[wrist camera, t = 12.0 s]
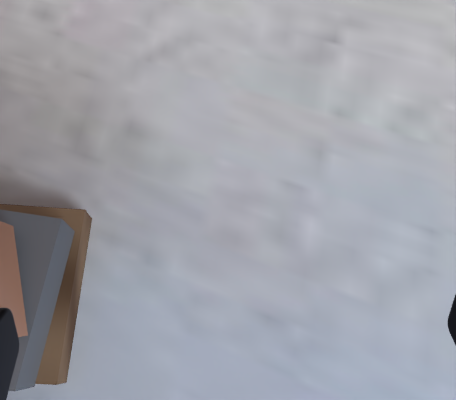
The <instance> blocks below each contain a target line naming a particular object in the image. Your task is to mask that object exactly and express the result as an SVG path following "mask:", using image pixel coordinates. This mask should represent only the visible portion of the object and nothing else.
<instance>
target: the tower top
mask: <svg viewBox="0 0 456 400" xmlns="http://www.w3.org/2000/svg"><path fill="white" fill-rule="evenodd" d="M0 221H2V222H4V223H7V224H9V225H12V226H13V227H14V235H15V242H16V249H17V257H18V264H19V272H20V279H21V287H22V294H23V302H24V309H25V317H26V324H27V332H28V335H27V336H23V337H19V353H18V357H17V361H16V364H15V368H14V372H13V376H12V379H11V383H10V387H9V391H18V390H22V389H26V388H30V387H34V386H35V382H36V378H37V374H38V371H39V367H40V363H41V359H42V355H43V352H44V348H45V344H46V340H47V336H48V333H49V329H50V325H51V321H52V317H53V313H54V310H55V306H56V302H57V298H58V294H59V290H60V286H61V283H62V279H63V275H64V271H65V267H66V263H67V260H68V256H69V252H70V248H71V244H72V240H73V237H74V233H75V231H74V230H73V229H72V228H71V227H70V226H69V225H68V224H67V223H66V222H65V221H64V220H63V219H60V218H53V217H47V216H40V215H33V214H27V213H20V212H13V211H7V210H0Z"/></svg>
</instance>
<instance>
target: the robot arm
mask: <svg viewBox="0 0 456 400" xmlns="http://www.w3.org/2000/svg"><path fill="white" fill-rule="evenodd" d="M448 328H449V332H450V334H451V336H452V338H453V340H454V343H455V345H456V295H455V298H454V301H453V304H452V308H451V311H450V314H449V317H448ZM18 353H19V338H18V333H17V329H16V325H15V321H14V317H13V314H12V311H11V310H10V309H9V308H0V400H6V398H7V394H8V391H9V387H10V383H11V379H12V376H13V372H14V368H15V364H16V361H17V357H18Z"/></svg>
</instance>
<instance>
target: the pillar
mask: <svg viewBox="0 0 456 400" xmlns="http://www.w3.org/2000/svg"><path fill="white" fill-rule="evenodd" d="M0 308H9V309H10V310H11V311H12V314H13V317H14V321H15V325H16V329H17V333H18V338H19V337H23V336H27V335H28V332H27V324H26V317H25V309H24V302H23V294H22V287H21V279H20V272H19V264H18V257H17V249H16V242H15V235H14V227H13V226H12V225H9V224H7V223H4V222H2V221H0Z"/></svg>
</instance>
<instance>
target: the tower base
mask: <svg viewBox="0 0 456 400" xmlns="http://www.w3.org/2000/svg"><path fill="white" fill-rule="evenodd" d="M0 210H7V211H13V212H20V213H27V214H33V215H40V216H47V217H53V218H60V219H63V220H64V221H65V222H66V223H67V224H68V225H69V226H70V227H71V228H72V229H73V230H74V231H75V233H74V237H73V240H72V244H71V248H70V252H69V256H68V260H67V263H66V267H65V271H64V275H63V279H62V283H61V286H60V290H59V294H58V298H57V302H56V306H55V310H54V313H53V317H52V321H51V325H50V329H49V333H48V336H47V340H46V344H45V348H44V352H43V355H42V359H41V363H40V367H39V371H38V374H37V378H36V382H35V384H53V385H57V384H61V383H65V382H67V375H68V369H69V363H70V356H71V350H72V343H73V337H74V330H75V324H76V318H77V311H78V305H79V298H80V292H81V286H82V279H83V273H84V266H85V260H86V253H87V247H88V241H89V234H90V228H91V221H92V218H91V217H90V216H89V214H88V213H87V212H86V210H82V209H67V208H52V207H37V206H22V205H7V204H0Z"/></svg>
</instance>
